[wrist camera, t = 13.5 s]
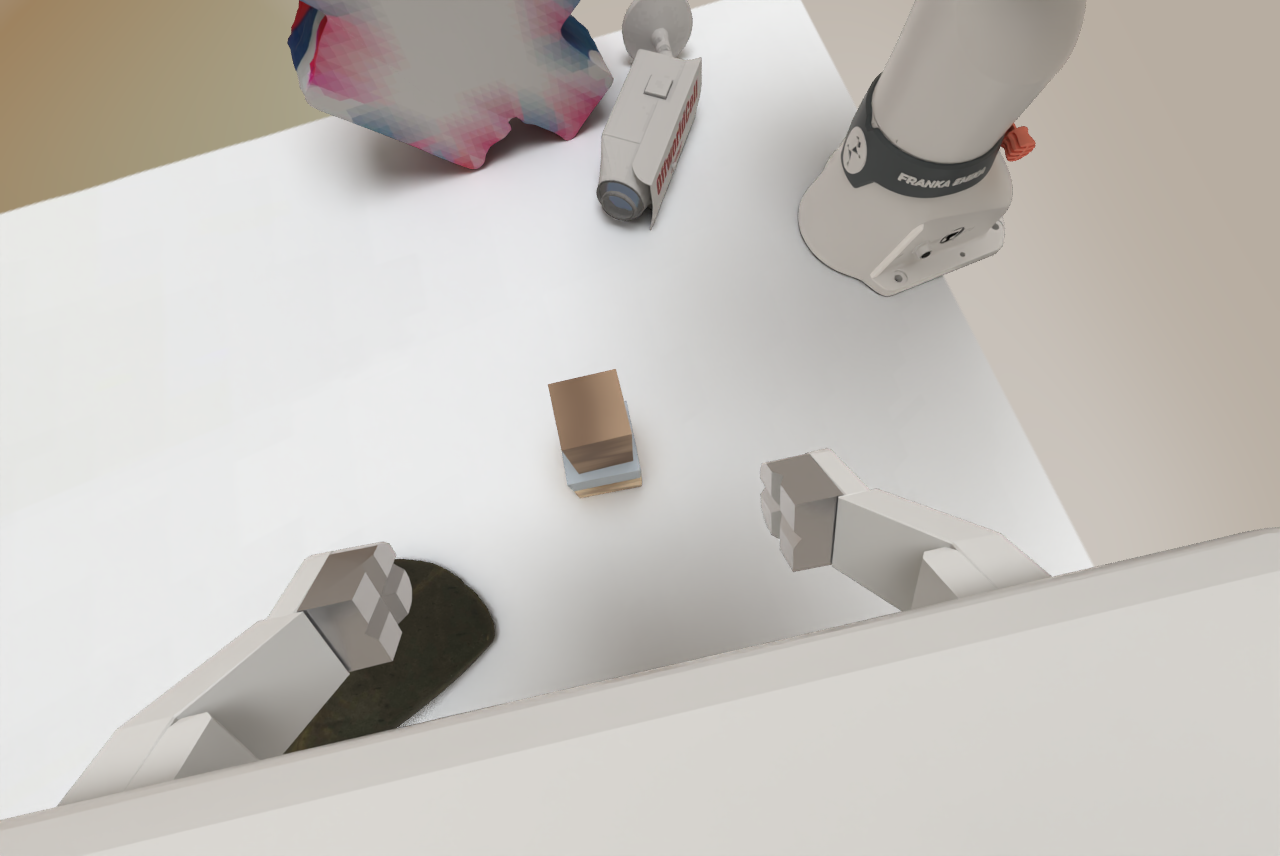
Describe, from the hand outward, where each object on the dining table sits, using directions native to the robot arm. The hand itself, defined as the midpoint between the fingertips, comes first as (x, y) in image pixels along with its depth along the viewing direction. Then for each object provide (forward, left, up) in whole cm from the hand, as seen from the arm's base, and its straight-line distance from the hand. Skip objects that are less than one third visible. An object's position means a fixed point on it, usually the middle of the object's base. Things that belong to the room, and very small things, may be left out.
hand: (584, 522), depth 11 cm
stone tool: (+22, +5, -36) cm, 42 cm away
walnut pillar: (0, -9, -27) cm, 29 cm away
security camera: (-12, -45, -36) cm, 59 cm away
